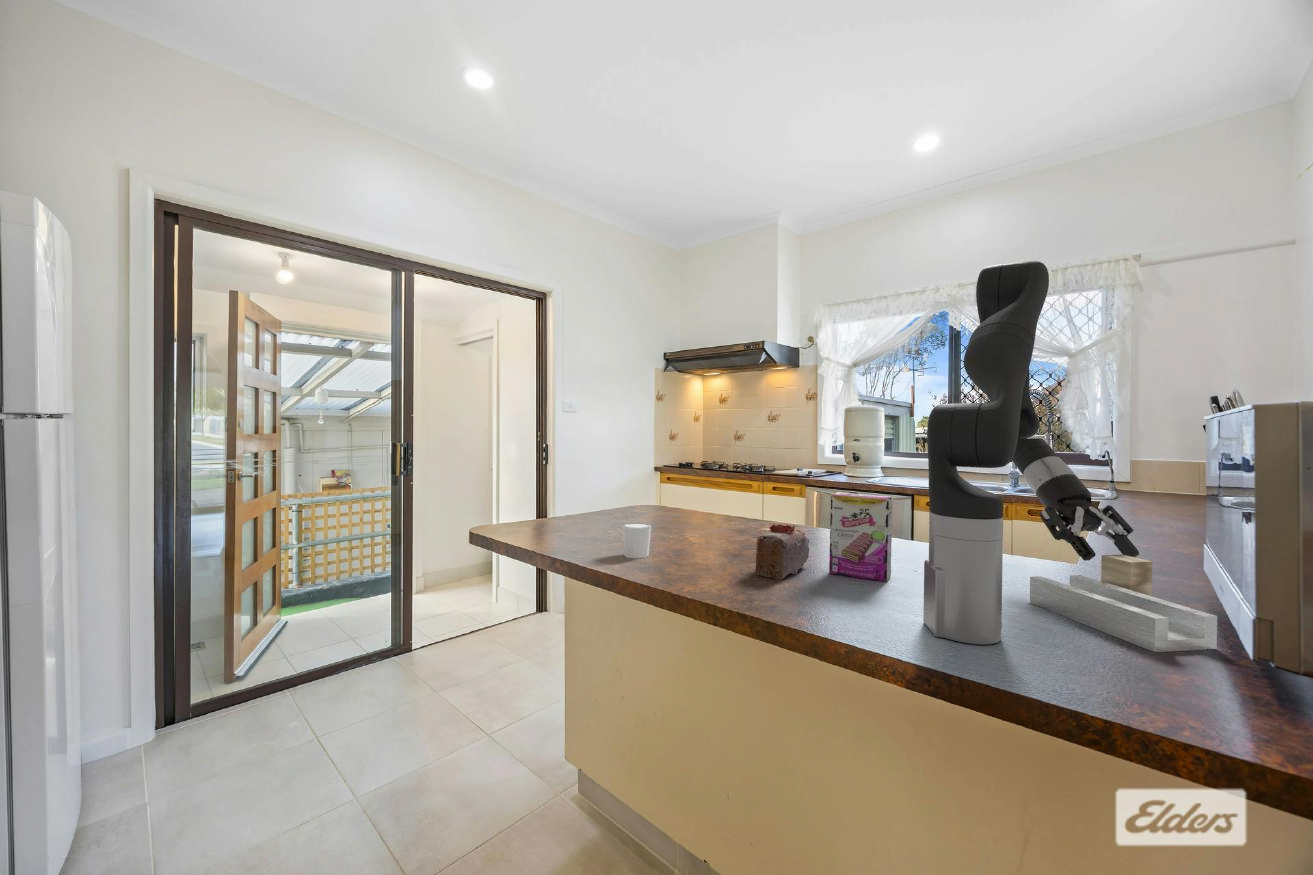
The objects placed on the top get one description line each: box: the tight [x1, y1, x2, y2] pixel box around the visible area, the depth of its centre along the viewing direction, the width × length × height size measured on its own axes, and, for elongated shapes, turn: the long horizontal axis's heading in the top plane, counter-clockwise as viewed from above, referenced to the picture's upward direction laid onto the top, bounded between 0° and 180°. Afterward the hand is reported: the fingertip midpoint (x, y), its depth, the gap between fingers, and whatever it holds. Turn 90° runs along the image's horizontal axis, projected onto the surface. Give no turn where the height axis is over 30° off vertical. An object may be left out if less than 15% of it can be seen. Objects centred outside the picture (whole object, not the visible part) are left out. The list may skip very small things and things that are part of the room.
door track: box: [1029, 574, 1218, 653], centre depth 80 cm, size 10×20×4 cm, turn 7°
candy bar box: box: [828, 491, 894, 583], centre depth 105 cm, size 11×5×16 cm, turn 58°
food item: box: [754, 524, 810, 581], centre depth 108 cm, size 14×8×10 cm, turn 147°
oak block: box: [1100, 554, 1153, 597], centre depth 89 cm, size 4×5×8 cm
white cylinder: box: [621, 522, 652, 559], centre depth 121 cm, size 7×7×7 cm
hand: (1112, 557), depth 91 cm, fingers open, 8 cm apart
